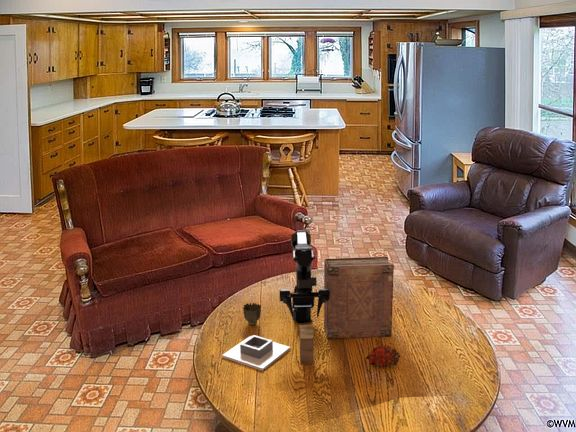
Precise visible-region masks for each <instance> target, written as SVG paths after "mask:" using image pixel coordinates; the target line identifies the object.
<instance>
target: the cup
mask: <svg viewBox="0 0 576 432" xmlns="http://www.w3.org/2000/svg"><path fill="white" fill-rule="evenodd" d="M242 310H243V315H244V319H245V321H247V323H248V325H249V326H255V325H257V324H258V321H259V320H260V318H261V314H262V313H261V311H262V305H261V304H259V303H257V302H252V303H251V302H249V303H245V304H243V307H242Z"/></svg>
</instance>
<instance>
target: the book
mask: <svg viewBox="0 0 576 432" xmlns="http://www.w3.org/2000/svg"><path fill="white" fill-rule="evenodd" d="M323 263H324V265H323V266H324V269H323V270H324V272H323V273H324V276H323V277H324V278H323V282H324V283H323V285H324V287H323V289H329V290H330V298H329V300H328V301H326V302H325V303H323V310H324V311H323V312H324V314H323V316H324V317H323V329H324V332H325V335H326V338H327V340H344V339H365V338H367V339H368V338H372V339H373V338H389V337H392V335H393V334H392V333H393V332H392V328H393V304H394V303H393V299H394V271H395V270H394V267H395V265H394V264H391V263H390V262H389V257H388V256H387V255H386V256H369V257H368V256H367V257H342V258H339V257H337V258H325V259H324V261H323Z"/></svg>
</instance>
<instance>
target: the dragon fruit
mask: <svg viewBox="0 0 576 432" xmlns="http://www.w3.org/2000/svg"><path fill="white" fill-rule="evenodd" d="M400 358H401V355H400V353H399V352H398V351H397V350H396V349H395V348H394V347H391V346H390V345H388V344H387V345H378V346H377V347H376V346H375V347H373V349H372V350H371V352H370V353H369V354H368V355H367V356H366V357H365V359H366V360H369V364H370V365H371V366H374V367H377V368H378V367H381V370H385V369H387V368H388V369H389V368H392V366H397V364H398V362H399V360H400Z"/></svg>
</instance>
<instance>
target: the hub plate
mask: <svg viewBox="0 0 576 432" xmlns="http://www.w3.org/2000/svg"><path fill="white" fill-rule="evenodd" d="M290 350H291V346H288V345H284V344H282V343H279V342H275V341H273V340H272V339H269V338H266V337H261V336H259V335H255V334H253V335H249V336H248V337H246V338H245V339H244V340H242V341H240V342H239V343H237V344H236V345H235V346H234V347H232V348H230V349H229V350H228V351H226V352H225V353H223V354H222V359H225V360H229V361H232V362H236V363H238V364H240V365H244V366H247V367H250V368H253V369H256V370H259V371H263V372H264V371H265V370H266V369H267V368H268V367H270V366H271V365H272V364H274V363H275V362H276V361H278V360H279V359H280V358H282V356H284V355H285V354H286V353H288V352H289V351H290ZM264 369H265V370H264Z"/></svg>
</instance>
